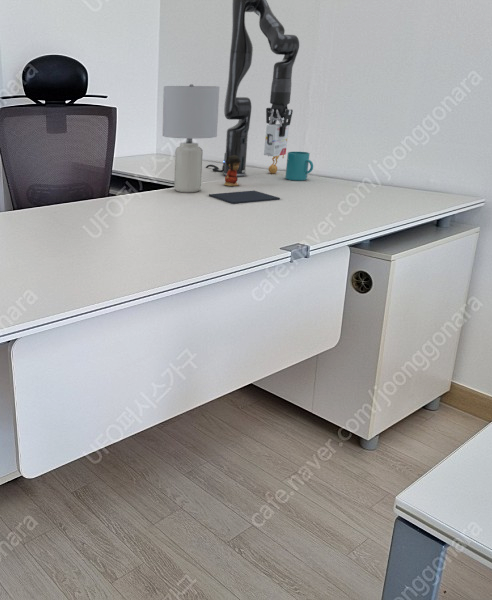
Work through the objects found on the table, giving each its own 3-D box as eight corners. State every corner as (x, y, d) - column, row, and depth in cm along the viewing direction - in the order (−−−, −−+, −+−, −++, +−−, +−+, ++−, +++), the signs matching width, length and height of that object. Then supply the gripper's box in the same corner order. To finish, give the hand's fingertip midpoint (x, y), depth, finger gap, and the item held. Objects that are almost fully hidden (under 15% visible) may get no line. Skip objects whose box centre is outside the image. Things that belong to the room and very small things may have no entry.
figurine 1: (221, 186, 240) (223, 155, 236) (225, 183, 245) (226, 154, 240) (237, 187, 238) (239, 156, 233) (240, 184, 242) (242, 155, 238)
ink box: (276, 153, 242) (279, 123, 238) (286, 154, 239) (289, 124, 234) (262, 155, 237) (265, 124, 233) (273, 156, 234) (276, 125, 229)
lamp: (191, 184, 243) (195, 83, 229) (224, 192, 227) (231, 84, 213) (151, 189, 233) (152, 83, 219) (183, 197, 217) (187, 84, 203)
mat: (209, 195, 220) (209, 194, 220) (254, 192, 227) (254, 190, 227) (232, 203, 206) (232, 202, 206) (279, 199, 214) (280, 197, 213)
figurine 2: (262, 172, 273) (264, 146, 269) (270, 171, 277) (272, 145, 272) (277, 175, 267) (279, 147, 263) (285, 173, 271) (288, 146, 266)
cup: (305, 182, 248) (308, 155, 244) (281, 179, 256) (283, 152, 252) (317, 180, 254) (320, 153, 250) (292, 176, 262) (295, 150, 258)
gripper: (300, 91, 224) (296, 137, 230) (277, 90, 237) (273, 133, 243) (284, 91, 222) (280, 138, 228) (261, 90, 234) (258, 134, 240)
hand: (276, 135), depth 235 cm, fingers closed on ink box, 5 cm apart
